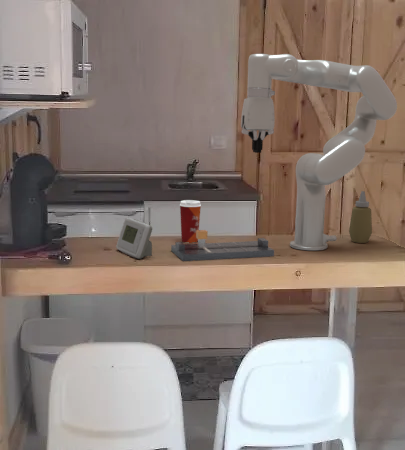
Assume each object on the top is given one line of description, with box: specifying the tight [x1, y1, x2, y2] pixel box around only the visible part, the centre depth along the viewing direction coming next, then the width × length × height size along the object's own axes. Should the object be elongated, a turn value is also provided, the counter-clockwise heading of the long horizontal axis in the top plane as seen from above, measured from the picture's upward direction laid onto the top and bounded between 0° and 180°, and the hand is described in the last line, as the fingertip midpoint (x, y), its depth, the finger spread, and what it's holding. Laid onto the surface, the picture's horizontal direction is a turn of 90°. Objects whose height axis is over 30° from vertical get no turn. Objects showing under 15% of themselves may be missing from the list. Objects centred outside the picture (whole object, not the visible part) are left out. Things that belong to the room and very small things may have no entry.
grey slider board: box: [170, 237, 275, 262], centre depth 211 cm, size 30×14×4 cm, turn 107°
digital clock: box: [116, 217, 153, 260], centre depth 208 cm, size 16×9×11 cm, turn 21°
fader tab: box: [196, 229, 208, 248], centre depth 209 cm, size 3×2×5 cm
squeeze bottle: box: [348, 190, 373, 244], centre depth 233 cm, size 8×8×18 cm
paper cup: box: [179, 199, 202, 244], centre depth 228 cm, size 8×8×14 cm
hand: (257, 152), depth 212 cm, fingers closed
